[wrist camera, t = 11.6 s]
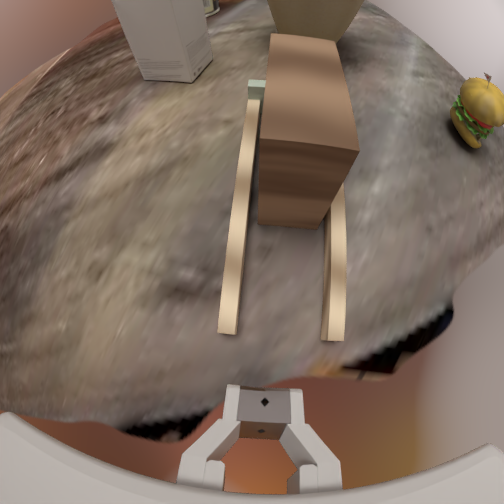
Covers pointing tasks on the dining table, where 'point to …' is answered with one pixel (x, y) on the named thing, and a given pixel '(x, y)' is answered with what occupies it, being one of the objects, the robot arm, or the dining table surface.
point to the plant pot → (314, 17)
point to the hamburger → (477, 110)
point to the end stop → (257, 91)
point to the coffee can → (210, 7)
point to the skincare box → (166, 37)
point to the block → (303, 132)
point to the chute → (238, 233)
